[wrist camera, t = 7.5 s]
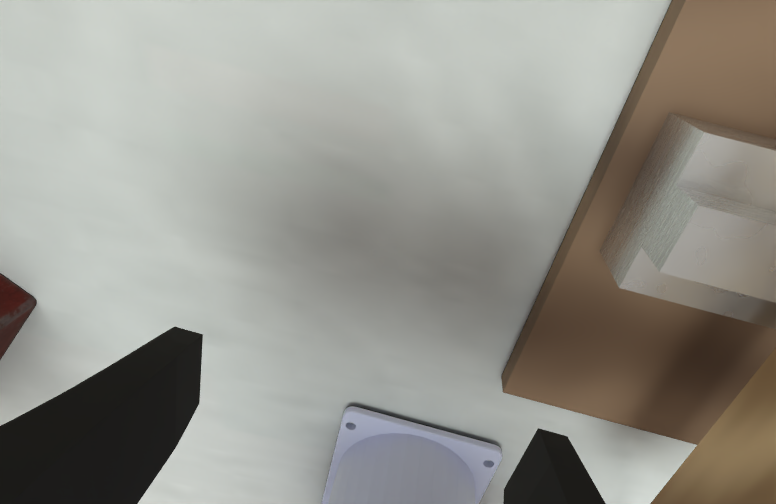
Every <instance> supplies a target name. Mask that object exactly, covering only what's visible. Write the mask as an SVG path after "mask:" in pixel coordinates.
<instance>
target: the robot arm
mask: <svg viewBox="0 0 776 504" xmlns="http://www.w3.org/2000/svg"><path fill="white" fill-rule="evenodd" d="M202 337H203V335H202V334H199V333H195V332H192V331H188V330H184V329H181V328H177V327H173V328H172V329H170V330H168V331H166V332H165V333H163V334H161V335H160V336H158V337H156V338H155V339H153V340H151V341H150V342H148V343H147V344H145V345H143V346H142V347H140V348H138V349H137V350H135V351H133V352H132V353H130V354H129V355H127V356H125V357H124V358H122V359H120V360H119V361H117V362H115V363H114V364H112V365H110V366H109V367H107V368H105V369H104V370H102V371H100V372H98V373H97V374H95V375H93V376H92V377H90V378H88V379H86V380H85V381H83V382H81V383H80V384H78V385H76V386H74V387H73V388H71V389H69V390H67V391H66V392H64V393H62V394H60V395H58V396H57V397H55V398H53V399H51V400H49V401H47V402H45V403H43V404H41V405H40V406H38V407H36V408H34V409H32V410H30V411H28V412H26V413H25V414H23V415H21V416H19V417H17V418H15V419H13V420H11V421H9V422H7V423H5V424H3V425H1V426H0V504H137V503H138V502H139V500H140V499H141V497H142V496H143V495H144V493H145V492H146V490H147V489H148V487H149V486H150V484H151V483H152V482H153V480H154V479H155V477H156V476H157V474H158V473H159V471H160V470H161V468H162V467H163V465H164V464H165V463H166V461H167V460H168V458H169V457H170V455H171V454H172V452H173V451H174V449H175V448H176V446H177V444H178V442H179V440H180V439H181V437H182V435H183V433H184V431H185V429H186V428H187V426H188V424H189V422H190V420H191V418H192V416H193V414H194V412H195V410H196V408H197V406H198V405H199V397H200V377H201V357H202ZM349 422H352V423H354V424H351V423H349ZM486 460H490V461H486ZM501 460H502V450H501V448H500V447H499V446H497V445H494V444H490V443H487V442H483V441H479V440H476V439H472V438H468V437H465V436H461V435H457V434H454V433H450V432H446V431H443V430H439V429H435V428H432V427H428V426H424V425H421V424H417V423H413V422H410V421H406V420H402V419H399V418H395V417H391V416H388V415H384V414H380V413H377V412H373V411H369V410H366V409H362V408H358V407H354V406H351V407H348V408H346V409H345V411H344V414H343V417H342V421H341V426H340V430H339V434H338V438H337V442H336V446H335V450H334V454H333V458H332V462H331V466H330V470H329V474H328V478H327V482H326V486H325V490H324V494H323V498H322V502H321V504H479V503H480V501H481V499H482V497H483V495H484V493H485V491H486V489H487V487H488V485H489V483H490V481H491V479H492V477H493V475H494V473H495V471H496V470H497V468H498V466H499V464H500V462H501ZM504 504H605V502H604V500H603V498H602V497H601V495H600V493H599V491H598V490H597V488H596V486H595V485H594V483H593V481H592V479H591V477H590V476H589V474H588V472H587V470H586V469H585V467H584V465H583V463H582V462H581V460H580V458H579V456H578V454H577V453H576V451H575V449H574V447H573V446H572V444H571V442H570V441H569V439H568V437H567V436H564V435H560V434H556V433H553V432H549V431H546V430H542V429H539V428H538V430H537V431H536V433H535V435H534V437H533V439H532V440H531V442H530V444H529V446H528V448H527V449H526V451H525V453H524V455H523V456H522V458H521V460H520V462H519V464H518V465H517V467H516V469H515V471H514V472H513V474H512V476H511V478H510V480H509V481H508V483H507V485H506V487H505V488H504Z"/></svg>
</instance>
